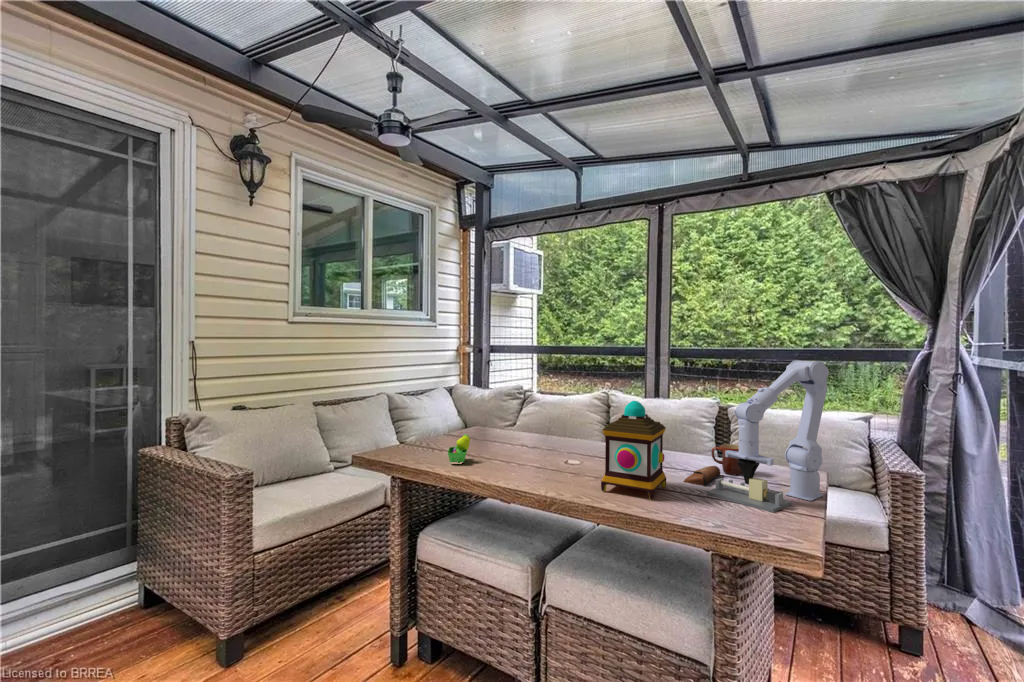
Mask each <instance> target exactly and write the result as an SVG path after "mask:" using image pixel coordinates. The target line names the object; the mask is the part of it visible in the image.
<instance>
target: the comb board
mask: <svg viewBox="0 0 1024 682" xmlns="http://www.w3.org/2000/svg"><path fill="white" fill-rule="evenodd" d="M706 495H707V496H711V497H714V498H715V497H716V498H719V499H723V500H726V501H730V502H732V503H733V502H734V503H737V504H740V505H743V506H747V507H751V508H755V509H758V510H762V511H765V512H769V513H772V514H774V513H777V511H780V510H783V509H784V508H787V507H789V506H791V505H792V501H791V500H788V499H784V492H783V491H780V490H779V491H777V490H773V489H770V488H768V490H766V489H765V490H764V491H763V496H764V498H767V500H766V499H763V501H759V500H755V499H751V498H749V486H746V484H745V482H740V483H739V484H736V483H734V480H733V479H728V481H725V480H724V478H722V477H720V478H717V479H715V488H712V489H710V490H706Z"/></svg>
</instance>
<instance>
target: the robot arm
mask: <svg viewBox="0 0 1024 682" xmlns="http://www.w3.org/2000/svg"><path fill="white" fill-rule="evenodd" d="M785 368H786V369H785V371H784V372H783V373H782V374H780V375H779V376H778V378H777V379H776V380H775V381H773V382H772V384H770V385H769V386H768V387H766V386H764V387H759V388H758V389H757V391H756V393H754V394H753V395H752V396H751V397H750V398H748V399H746V401H745V402H740V403H739V404H738V405H737V406H736V409H735V410H734V415H735V417H736V419H737V424H738V445H739V452H738V451H730V450H727V451H725V457H732V458H737V459H739V461H738V462H737V463H738V465H739V467H740V469H741V471H742V476H743V480H744V483H745V485H748V486H749V479H751V478H754V477H755V474H756V470H757V469H758V467H759V465H760V464H762V465H767V466H769V467H771V466H774V465H775V464H774V462H775V461H774V460H775V459H774V458H771V457H767V456H764V455H760V451H759V450H760V449H759V448H760V446H759V445H760V443H759V442H760V421H762V420H763V419H764V414H765V413H766V411H767V410H768V409H770V407H772V406H773V405H774V404H776V402H777V401H778V395H780V394H781V393H782V392H783V391H785V390H787V389H788V388H790V386H791V385H793V384H795V383H796V382H798V383H799V384H800V385H801V386H803V387H804V389H805V397H804V402H803V405H802V410H801V416H800V421H799V425H798V428H797V429H798V430H797V433H796V437H793V438H792V439H791V440H790V441H789V444H788V447H787V448H786V449H785V451H784V458H785V460H786V462H787V463H788V466H789V467H790V470H789V472H790V474H789V484H790V485H789V491H787V492H785V493H784V495H786V496H789V497H793V498H797V499H800V500H801V499H802V500H806V501H815V500H816V499H817V500H818V498H821V497H823V496H824V494H823V493H821V491H820V490H821V487H820V486H821V484H820V483H821V482H820V481H821V475H820V473H819V469H820V468H821V467H822V464H823V456H822V453H823V452H822V451H823V449H822V447H821V445H820V444H819V443H818V441H817V439H818V433H819V430H820V429H819V428H820V425H821V420H822V414H823V410H824V406H825V401H826V396H827V391H828V385H827V384H828V377H829V376H828V375H829V371H830V370H829V368H827V366H826V365H825V364H824V362H822V361H820V360H815V361H813V360H812V361H811V360H798V359H794V360H793V361H791V362H790V364H788V365H786V367H785Z"/></svg>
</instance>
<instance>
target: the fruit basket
mask: <svg viewBox="0 0 1024 682" xmlns="http://www.w3.org/2000/svg"><path fill="white" fill-rule="evenodd" d="M470 442H471V438H470V435H469V434H463V436H461V437H460V438H459V439H457V440H456V445H455V446H451V447H448V450H447V455H448V459H449V462H458V463H460V462H464V463H465V461H466V459H465V458H466V456H467V452H468V449H469V448H470V444H471V443H470Z"/></svg>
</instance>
